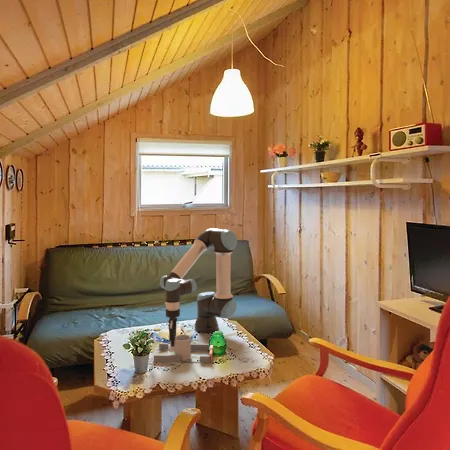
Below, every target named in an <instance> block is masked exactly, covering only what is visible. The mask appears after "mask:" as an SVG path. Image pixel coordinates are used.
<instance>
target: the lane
mask: <svg viewBox="0 0 450 450" xmlns="http://www.w3.org/2000/svg"><path fill="white" fill-rule="evenodd" d="M209 344H210V343H191V352H192V351H201V352H203V351H207V352H209V355H199V361H196V360H195V361H194V360H189V361H188V360H186V361H181V355H175V354H153V363H184V364H186V363H188V364H189V363H191V364H193V363H194V364H212V361H213V353H214V347H213V348H212V349H210V351H208V350H209ZM158 347H159V351H170V347H169V343H167V342H165V343H164V342H160V343H158Z"/></svg>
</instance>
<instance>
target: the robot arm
mask: <svg viewBox="0 0 450 450" xmlns="http://www.w3.org/2000/svg"><path fill="white" fill-rule="evenodd" d="M237 245H238V237H237V235H236V233H235V232H234V230H230V229H223V228H214V227H211V228H207V229H206V230H204V231H202V232H201V233H200V234H199V235H198V236H197V237H195V239H194V241H193V244H192V245H191V247H190V248H189V249H188V251H187V252H186V253H185V254H184V255H183V256H182V258H181V259H179V261H178V263H177V264H176V265H175V267H174V268H173V269H172V270H171V271H170V273H169V274H166V275H163V276H161V277H160V280H159V286H160V287H161V288H162V289H164V290H165V302H164V305H165V317H167V318H168V334H169V335H168V336H169V338H168V341H169V342H170V343H169V344H170V345H169V346H170V347H169V349H170V350H169V352H171V353H175V337H176V336H177V326H178V325H177V322H178V317H180V315H181V300H180V299H181V296H185V295H189V294H193V293H195V291H197V288H198V287H197V282H196V280H195V279H193V278H187V279H184V277H185V276H186V275H187V273H188V272H190V271H189V270H190V269H191V268H192V267H193V266H194V264H195V263H196V262H197V260H198V259H199V258H200V257H201V255H203V253H204V252H206V251H208V250H209V249H210V248H213V253H214V254H215V255H216V256H215V257H216V260H215V261H216V263H215V265H216V266H215V267H216V272H215V273H216V276H215V280H216V286H215V289H216V292H215V291H204V292H201V293H198V294H197V297H196V298H197V299H196V304H197V305H196V306H197V307H196V311H197V312H196V314H197V317H196V320H195V323H194V330H195V331H197V332H199V333H214V332H216V331H218V330H219V323H218V320H217V317H219V318H222V319H230V318H232V317H233V316H234V315H235V313H236V311H237V305H238V304H237V301H235V300H234V298H233V297H234V295H233V294H232V293H231V271H232V270H231V267H232V266H231V255H232V254H233V252H234V250H235V249H236V247H237Z"/></svg>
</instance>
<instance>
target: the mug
mask: <svg viewBox="0 0 450 450" xmlns="http://www.w3.org/2000/svg"><path fill="white" fill-rule="evenodd" d="M191 340H192V338H191V336H190V335H188V334H179V335H176V337H175V352H174V355H181V361H188V360H189V361H190V359H191V357H192V351H191V344H192V341H191Z"/></svg>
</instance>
